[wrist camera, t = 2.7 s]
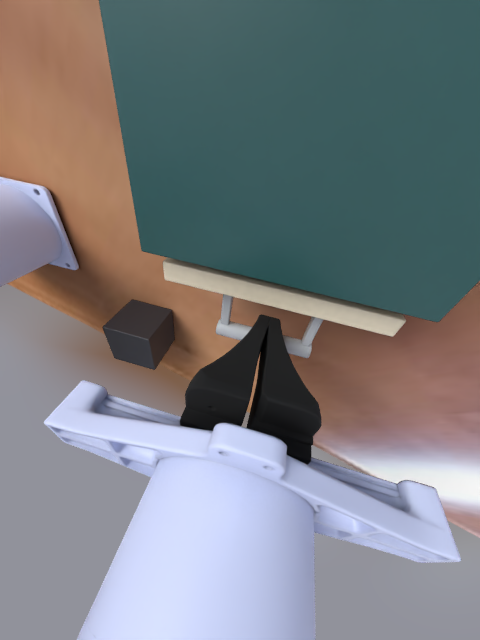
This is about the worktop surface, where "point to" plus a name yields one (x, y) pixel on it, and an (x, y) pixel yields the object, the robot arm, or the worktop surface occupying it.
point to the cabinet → (307, 141)
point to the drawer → (280, 304)
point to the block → (140, 333)
